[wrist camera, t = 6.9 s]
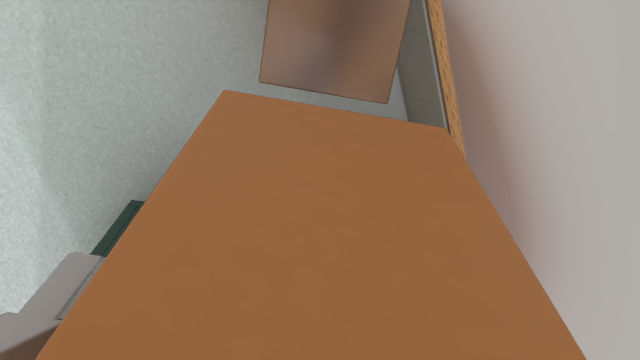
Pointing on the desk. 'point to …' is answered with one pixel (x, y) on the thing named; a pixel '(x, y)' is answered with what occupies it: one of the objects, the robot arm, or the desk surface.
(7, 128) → the desk surface
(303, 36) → the wooden block
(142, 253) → the carton
